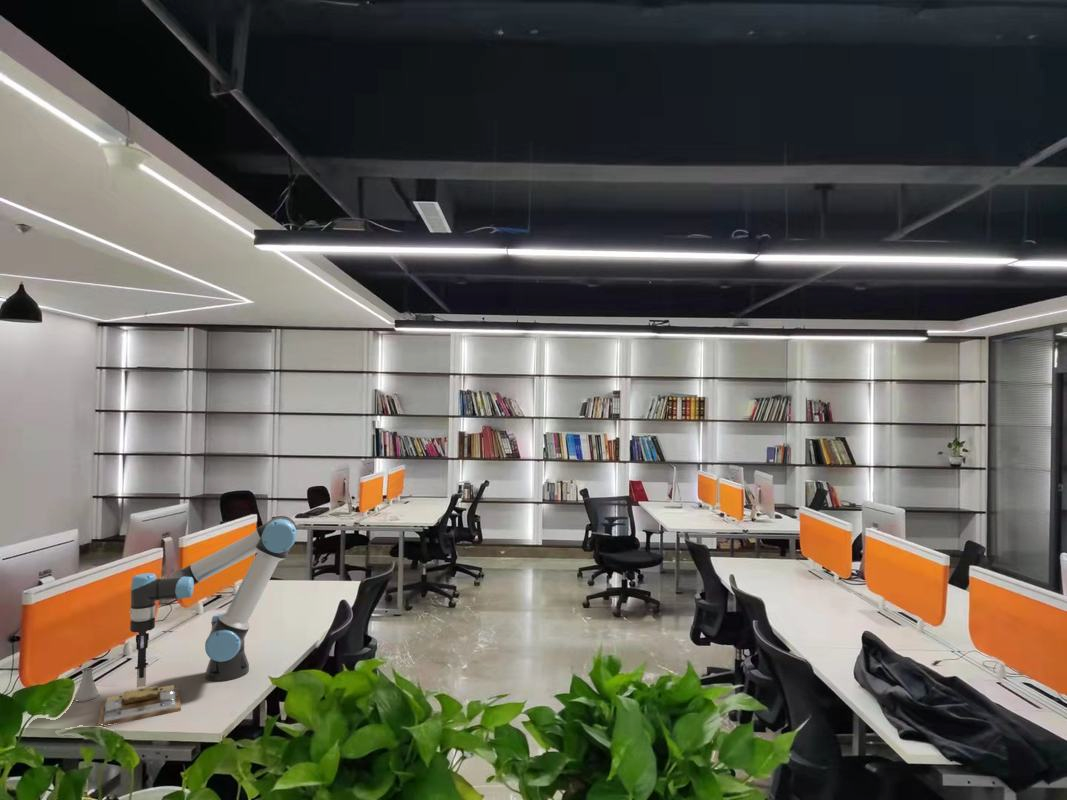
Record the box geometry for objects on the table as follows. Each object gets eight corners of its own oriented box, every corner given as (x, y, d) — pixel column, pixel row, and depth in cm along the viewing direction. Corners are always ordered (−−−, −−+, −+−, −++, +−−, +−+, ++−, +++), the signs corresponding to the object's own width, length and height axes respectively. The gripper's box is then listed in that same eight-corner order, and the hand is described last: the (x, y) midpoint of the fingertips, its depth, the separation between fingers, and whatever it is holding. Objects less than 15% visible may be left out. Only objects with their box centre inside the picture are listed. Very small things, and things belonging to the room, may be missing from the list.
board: (178, 690, 231) (178, 687, 231) (180, 710, 214) (180, 707, 214) (102, 705, 219) (102, 701, 219) (98, 728, 202) (98, 724, 202)
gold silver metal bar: (173, 688, 230) (174, 677, 230) (174, 696, 223) (174, 684, 223) (107, 700, 219) (107, 689, 220) (105, 709, 212) (106, 697, 212)
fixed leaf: (176, 698, 221) (176, 686, 221) (177, 707, 214) (177, 695, 214) (103, 712, 210) (104, 700, 210) (102, 722, 203) (102, 709, 203)
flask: (83, 703, 220) (83, 674, 221) (69, 700, 223) (70, 671, 224) (103, 695, 227) (104, 667, 228) (90, 692, 230) (91, 664, 230)
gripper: (130, 615, 230) (129, 682, 229) (129, 624, 219) (128, 694, 218) (155, 612, 234) (153, 677, 233) (155, 621, 223) (153, 690, 222)
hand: (141, 685), depth 225 cm, fingers closed
